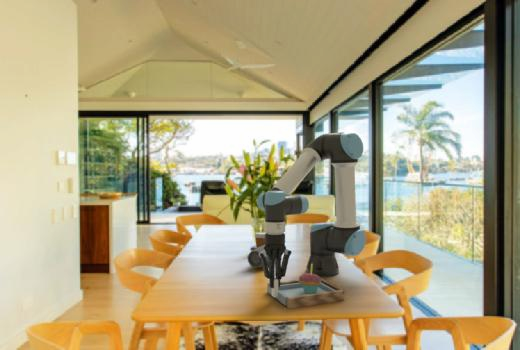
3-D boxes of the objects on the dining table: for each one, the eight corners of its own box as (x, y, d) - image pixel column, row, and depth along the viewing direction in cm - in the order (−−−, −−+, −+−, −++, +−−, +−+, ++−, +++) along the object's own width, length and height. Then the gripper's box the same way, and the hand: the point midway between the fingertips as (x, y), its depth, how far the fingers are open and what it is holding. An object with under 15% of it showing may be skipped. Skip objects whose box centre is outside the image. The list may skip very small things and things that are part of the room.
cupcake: (324, 294, 146) (324, 262, 146) (303, 296, 144) (304, 264, 144) (315, 287, 155) (315, 257, 154) (295, 289, 152) (295, 258, 152)
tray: (316, 286, 159) (316, 279, 159) (337, 297, 145) (337, 290, 145) (268, 292, 151) (268, 285, 151) (285, 305, 137) (285, 297, 137)
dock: (318, 285, 162) (318, 277, 162) (345, 300, 144) (345, 290, 144) (267, 292, 153) (267, 283, 153) (289, 308, 135) (289, 298, 135)
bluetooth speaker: (266, 258, 208) (266, 240, 207) (282, 260, 204) (282, 241, 203) (246, 269, 187) (246, 248, 187) (263, 271, 183) (263, 250, 183)
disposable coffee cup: (260, 251, 225) (260, 230, 225) (274, 253, 220) (274, 232, 220) (251, 254, 218) (251, 233, 217) (265, 256, 212) (265, 235, 212)
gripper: (262, 235, 137) (262, 301, 138) (295, 233, 142) (295, 297, 143) (254, 232, 144) (254, 295, 145) (286, 230, 149) (286, 291, 150)
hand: (274, 296), depth 144 cm, fingers closed
